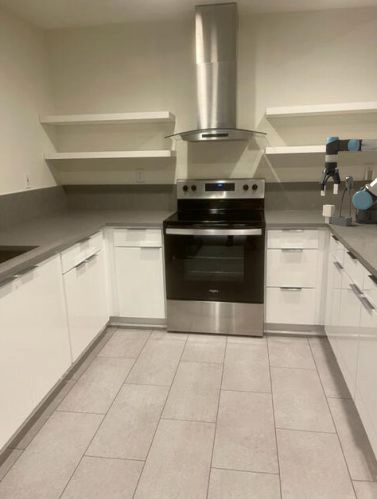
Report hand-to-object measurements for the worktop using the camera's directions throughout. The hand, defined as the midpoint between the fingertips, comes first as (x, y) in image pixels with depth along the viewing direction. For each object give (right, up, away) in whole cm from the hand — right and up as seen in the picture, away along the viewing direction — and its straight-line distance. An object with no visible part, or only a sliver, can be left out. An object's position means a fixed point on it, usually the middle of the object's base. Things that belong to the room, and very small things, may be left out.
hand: (329, 194), depth 249 cm
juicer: (+17, -16, +11) cm, 26 cm away
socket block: (+7, -20, -4) cm, 21 cm away
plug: (+1, -18, +4) cm, 19 cm away
